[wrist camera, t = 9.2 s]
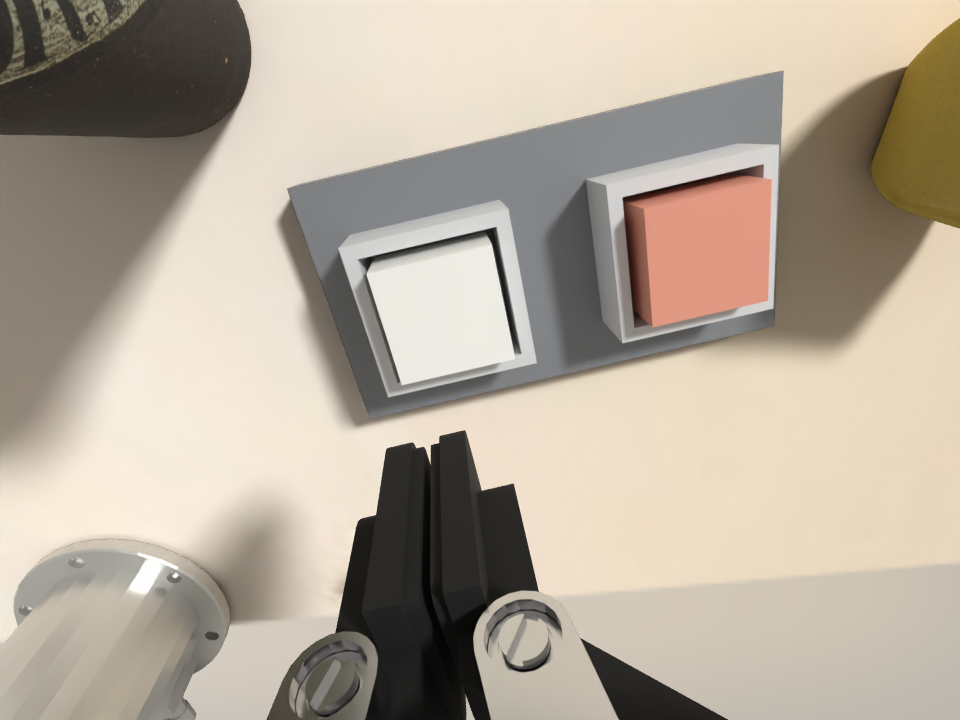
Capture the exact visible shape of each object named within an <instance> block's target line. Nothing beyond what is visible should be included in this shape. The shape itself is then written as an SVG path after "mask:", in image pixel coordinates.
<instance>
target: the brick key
mask: <svg viewBox="0 0 960 720" xmlns="http://www.w3.org/2000/svg"><path fill="white" fill-rule="evenodd" d="M771 186H772V179H768V178H760V177H753V176H745V175H737V174H726V175H721V176H717V177H713V178H709V179H704V180H700V181H696V182H692V183H687V184H683V185H679V186H675V187H670V188H666V189H662V190H658V191H653V192H649V193H645V194H641V195H636V196H632V197H628V198H624V199H623V210H624V221H625V232H626V242H627V253H628V264H629V275H630V286H631V297H632V308H633V310H634V311H635V312H636V313H637V314H638V315H639V316H640V317H642V318H643V319H644V320H645V321H646V322H647V323H648V324H649V325H651V326H652V327H657V326H661V325H666V324H670V323H674V322H679V321H683V320H687V319H692V318H696V317H700V316H705V315H709V314H713V313H718V312H722V311H726V310H731V309H735V308H739V307H744V306H748V305H752V304H757V303H761V302H765V301H768V287H769V253H770V220H771Z"/></svg>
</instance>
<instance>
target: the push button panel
mask: <svg viewBox="0 0 960 720" xmlns="http://www.w3.org/2000/svg"><path fill="white" fill-rule="evenodd" d="M782 98H783V71H779V72H774V73H768V74H763V75H758V76H753V77H749V78H745V79H740V80H736V81H732V82H728V83H724V84H719V85H715V86H711V87H707V88H703V89H698V90H694V91H690V92H686V93H682V94H677V95H673V96H669V97H665V98H660V99H656V100H652V101H648V102H644V103H639V104H635V105H631V106H627V107H623V108H618V109H614V110H610V111H606V112H602V113H597V114H593V115H589V116H585V117H581V118H576V119H572V120H568V121H564V122H559V123H555V124H551V125H547V126H543V127H538V128H534V129H530V130H526V131H522V132H517V133H513V134H509V135H505V136H501V137H496V138H492V139H488V140H484V141H480V142H475V143H471V144H467V145H463V146H459V147H454V148H450V149H446V150H442V151H437V152H433V153H429V154H425V155H421V156H416V157H412V158H408V159H404V160H400V161H395V162H391V163H387V164H383V165H379V166H374V167H370V168H366V169H362V170H358V171H353V172H349V173H345V174H341V175H336V176H332V177H328V178H324V179H320V180H315V181H311V182H307V183H303V184H299V185H296V186H293V187H290V188H287V190H288V193H289V196H290V198H291V201H292V204H293V207H294V209H295V212H296V215H297V218H298V221H299V223H300V226H301V229H302V232H303V234H304V237H305V240H306V243H307V245H308V248H309V251H310V254H311V257H312V259H313V262H314V265H315V268H316V270H317V273H318V276H319V279H320V281H321V284H322V287H323V290H324V293H325V295H326V298H327V301H328V304H329V306H330V309H331V312H332V315H333V318H334V320H335V323H336V326H337V329H338V331H339V334H340V337H341V340H342V342H343V345H344V348H345V351H346V354H347V356H348V359H349V362H350V365H351V367H352V370H353V373H354V376H355V378H356V381H357V384H358V387H359V390H360V392H361V395H362V398H363V401H364V403H365V406H366V409H367V412H368V414H369V417H370V419H372V418H377V417H381V416H385V415H390V414H394V413H398V412H403V411H407V410H411V409H416V408H420V407H424V406H429V405H433V404H437V403H442V402H446V401H450V400H455V399H459V398H463V397H468V396H472V395H476V394H481V393H485V392H490V391H494V390H498V389H503V388H507V387H511V386H516V385H520V384H524V383H529V382H533V381H537V380H542V379H546V378H550V377H555V376H559V375H563V374H568V373H572V372H576V371H581V370H585V369H589V368H594V367H598V366H603V365H607V364H611V363H616V362H620V361H624V360H629V359H633V358H637V357H642V356H646V355H650V354H655V353H659V352H663V351H668V350H672V349H676V348H681V347H685V346H689V345H694V344H698V343H702V342H707V341H711V340H716V339H720V338H724V337H729V336H733V335H737V334H742V333H746V332H750V331H755V330H759V329H763V328H768V327H772V326H774V320H775V292H776V265H777V237H778V209H779V181H780V154H781V126H782ZM726 174H737V175H745V176H753V177H760V178H768V179H772V186H771V220H770V253H769V287H768V301H765V302H761V303H757V304H752V305H748V306H744V307H739V308H735V309H731V310H726V311H722V312H718V313H713V314H709V315H705V316H700V317H696V318H692V319H687V320H683V321H679V322H674V323H670V324H666V325H661V326H657V327H652V326H651V325H649V324H648V323H647V322H646V321H645V320H644V319H643V318H642V317H640V316H639V315H638V314H637V313H636V312H635V311H634V310H633V308H632V297H631V286H630V275H629V264H628V253H627V242H626V232H625V221H624V210H623V199H624V198H628V197H632V196H636V195H641V194H645V193H649V192H653V191H658V190H662V189H666V188H670V187H675V186H679V185H683V184H687V183H692V182H696V181H700V180H704V179H709V178H713V177H717V176H721V175H726ZM483 231H485V232H486V234H487V236H488V238H489V240H490V242H491V244H492V247H493V252H494V257H495V262H496V267H497V272H498V277H499V282H500V286H501V291H502V296H503V301H504V306H505V311H506V316H507V321H508V326H509V330H510V335H511V340H512V345H513V350H514V355H515V359H513V360H509V361H505V362H500V363H496V364H492V365H487V366H483V367H479V368H474V369H470V370H466V371H461V372H457V373H453V374H448V375H444V376H440V377H436V378H431V379H427V380H423V381H418V382H414V383H410V384H405V385H402V384H401V381H400V378H399V375H398V372H397V369H396V365H395V362H394V359H393V356H392V353H391V350H390V347H389V343H388V340H387V337H386V334H385V331H384V328H383V325H382V321H381V318H380V315H379V312H378V309H377V306H376V303H375V300H374V296H373V293H372V290H371V287H370V284H369V281H368V278H367V272H368V270H369V268H370V266H371V264H372V262H373V260H374V258H375V257H376V256H381V255H385V254H389V253H393V252H398V251H402V250H406V249H411V248H415V247H419V246H423V245H428V244H432V243H436V242H440V241H445V240H449V239H453V238H457V237H462V236H466V235H470V234H474V233H479V232H483Z"/></svg>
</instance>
